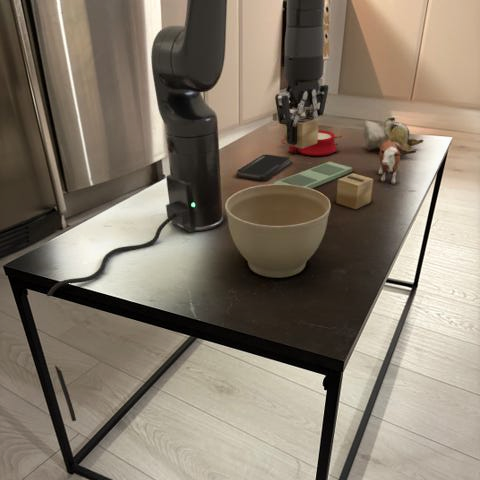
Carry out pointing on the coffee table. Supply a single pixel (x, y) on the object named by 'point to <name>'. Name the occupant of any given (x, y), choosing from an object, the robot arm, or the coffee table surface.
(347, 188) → the slotted coin box
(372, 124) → the ceramic sculpture
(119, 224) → the coffee table surface
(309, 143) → the light wooden block
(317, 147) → the alarm clock
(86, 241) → the coffee table surface
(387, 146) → the bull figurine
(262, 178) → the phone
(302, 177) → the word board
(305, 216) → the planter bowl
